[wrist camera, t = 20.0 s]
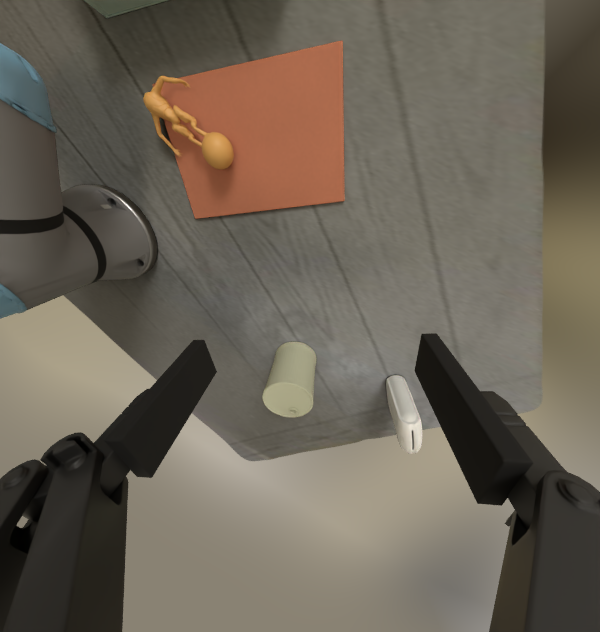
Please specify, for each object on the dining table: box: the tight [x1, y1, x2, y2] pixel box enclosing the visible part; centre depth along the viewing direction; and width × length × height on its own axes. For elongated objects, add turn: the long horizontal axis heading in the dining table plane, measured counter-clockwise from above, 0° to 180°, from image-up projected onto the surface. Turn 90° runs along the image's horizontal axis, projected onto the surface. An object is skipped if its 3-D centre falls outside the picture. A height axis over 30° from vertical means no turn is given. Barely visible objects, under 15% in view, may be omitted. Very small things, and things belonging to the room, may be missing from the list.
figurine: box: [144, 76, 234, 170], centre depth 29 cm, size 8×6×12 cm
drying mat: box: [152, 41, 344, 219], centre depth 30 cm, size 24×16×1 cm, turn 97°
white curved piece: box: [386, 375, 422, 453], centre depth 45 cm, size 10×4×12 cm, turn 15°
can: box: [263, 342, 317, 417], centre depth 44 cm, size 9×9×12 cm
